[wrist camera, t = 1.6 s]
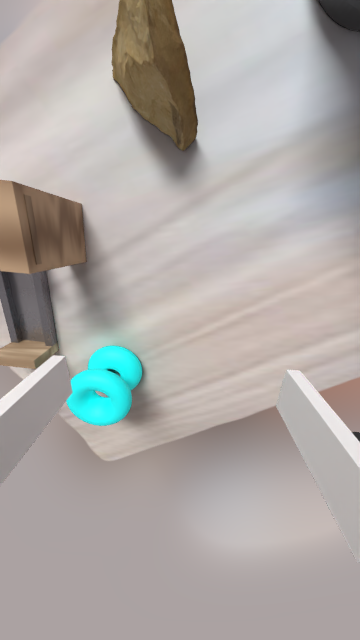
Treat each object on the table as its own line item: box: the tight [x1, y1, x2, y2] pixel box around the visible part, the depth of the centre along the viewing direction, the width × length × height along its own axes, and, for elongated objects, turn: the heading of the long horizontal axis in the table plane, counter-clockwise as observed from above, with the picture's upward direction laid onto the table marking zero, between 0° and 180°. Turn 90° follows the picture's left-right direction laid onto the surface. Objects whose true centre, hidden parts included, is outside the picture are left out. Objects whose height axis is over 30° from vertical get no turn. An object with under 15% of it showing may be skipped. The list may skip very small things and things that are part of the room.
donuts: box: [66, 346, 142, 426], centre depth 34 cm, size 10×10×10 cm
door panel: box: [0, 180, 86, 274], centre depth 24 cm, size 8×3×12 cm, turn 175°
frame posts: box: [0, 340, 58, 369], centre depth 32 cm, size 18×7×6 cm, turn 175°
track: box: [0, 270, 57, 346], centre depth 34 cm, size 14×7×2 cm, turn 175°
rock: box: [112, 0, 198, 151], centre depth 22 cm, size 11×9×10 cm
